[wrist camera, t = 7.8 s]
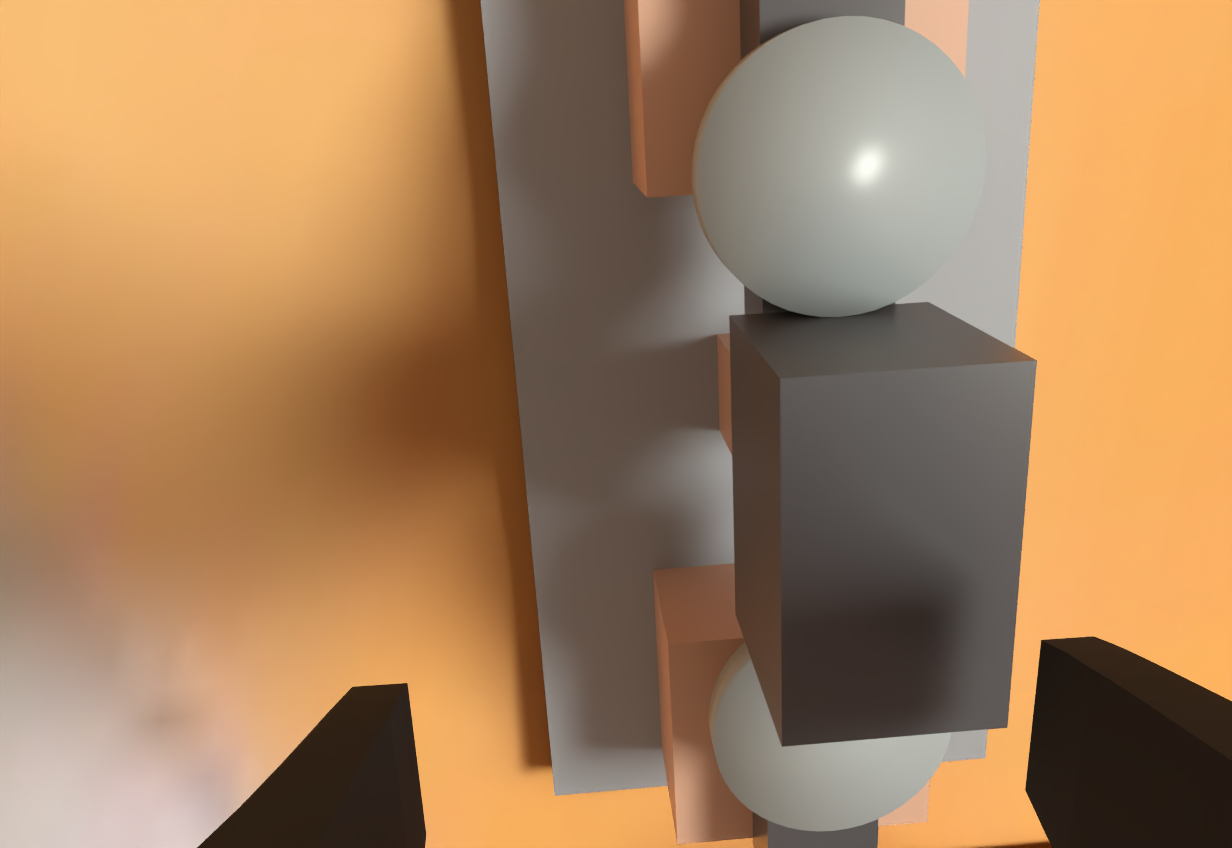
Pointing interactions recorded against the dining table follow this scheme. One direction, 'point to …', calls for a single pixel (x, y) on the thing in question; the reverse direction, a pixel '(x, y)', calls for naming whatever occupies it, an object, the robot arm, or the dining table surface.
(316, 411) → the dining table surface
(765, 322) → the stacked ball block column
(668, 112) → the display stand
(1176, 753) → the robot arm
